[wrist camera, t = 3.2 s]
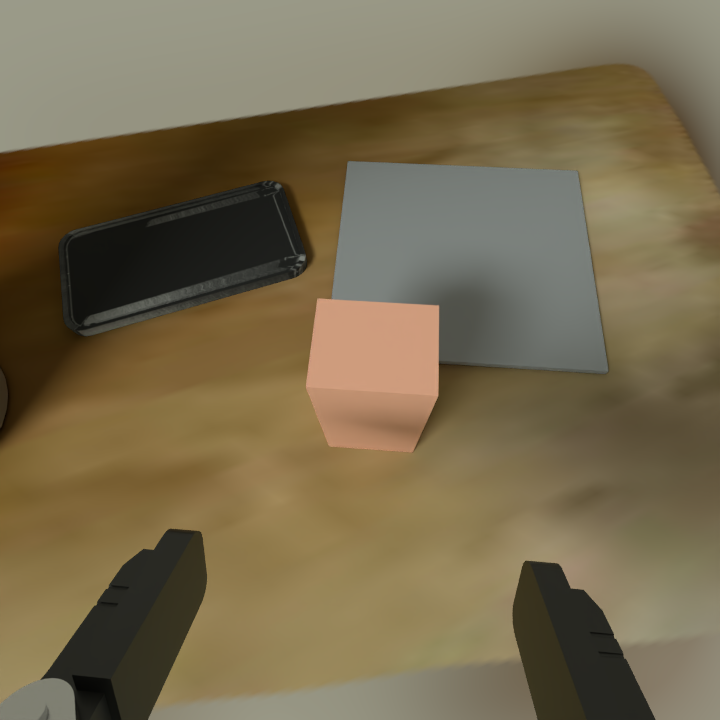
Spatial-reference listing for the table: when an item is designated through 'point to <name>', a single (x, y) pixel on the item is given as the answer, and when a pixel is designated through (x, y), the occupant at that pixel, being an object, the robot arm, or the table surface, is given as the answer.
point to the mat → (477, 260)
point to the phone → (178, 257)
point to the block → (374, 372)
